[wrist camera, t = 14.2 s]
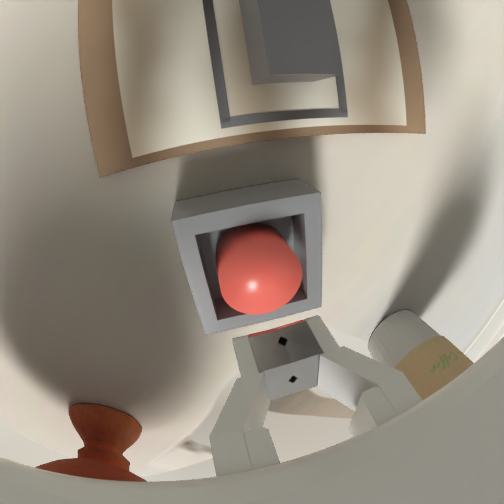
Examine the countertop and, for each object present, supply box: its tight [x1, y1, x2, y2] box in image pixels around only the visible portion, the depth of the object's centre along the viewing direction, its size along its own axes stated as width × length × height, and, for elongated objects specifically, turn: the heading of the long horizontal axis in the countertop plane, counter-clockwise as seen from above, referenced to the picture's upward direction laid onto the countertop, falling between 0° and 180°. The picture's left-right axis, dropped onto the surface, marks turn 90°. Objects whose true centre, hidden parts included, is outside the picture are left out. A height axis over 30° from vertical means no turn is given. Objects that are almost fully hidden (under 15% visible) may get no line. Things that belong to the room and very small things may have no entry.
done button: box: [215, 222, 302, 315], centre depth 14 cm, size 4×4×3 cm
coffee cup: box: [368, 310, 474, 400], centre depth 18 cm, size 9×9×15 cm
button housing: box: [171, 179, 322, 335], centre depth 15 cm, size 7×7×3 cm
